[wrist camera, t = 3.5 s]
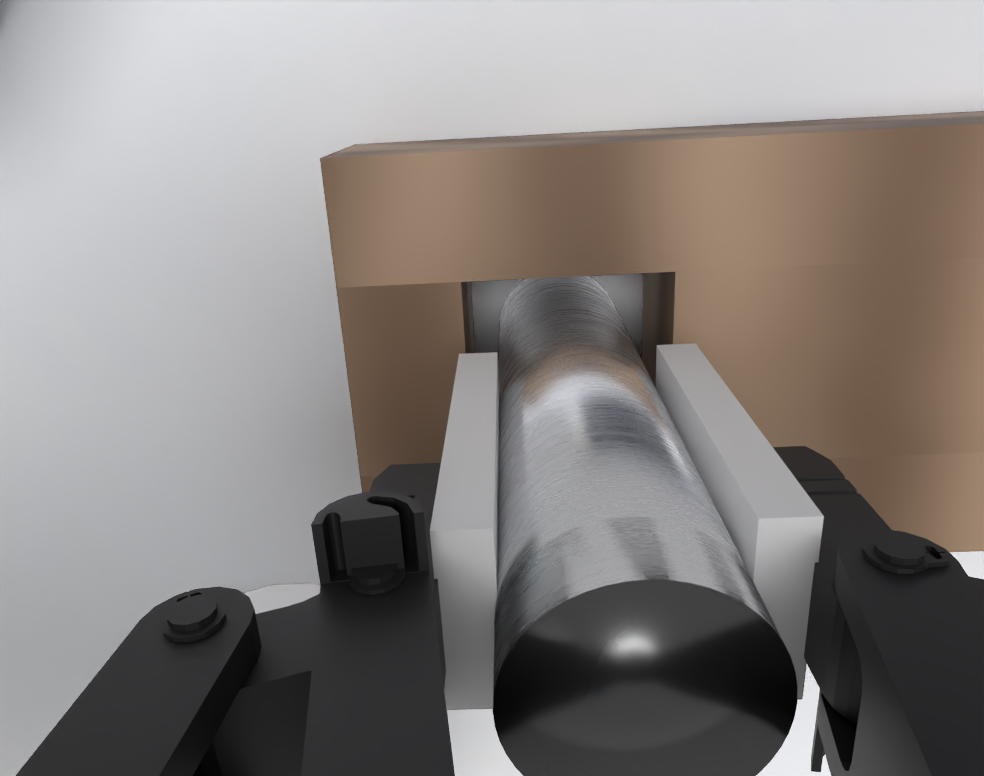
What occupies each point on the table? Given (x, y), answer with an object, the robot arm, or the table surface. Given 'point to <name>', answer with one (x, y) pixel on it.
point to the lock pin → (617, 567)
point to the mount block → (699, 282)
